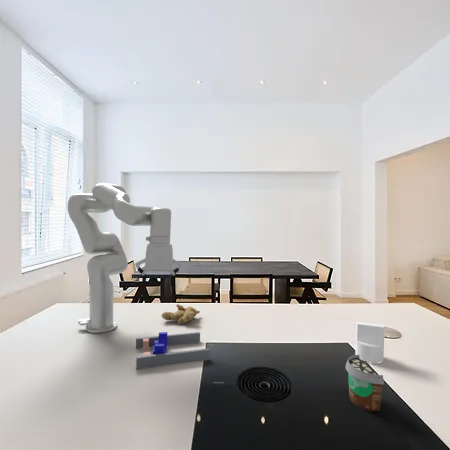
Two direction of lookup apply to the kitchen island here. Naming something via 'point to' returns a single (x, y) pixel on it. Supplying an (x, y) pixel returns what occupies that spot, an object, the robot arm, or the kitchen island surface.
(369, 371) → the food container
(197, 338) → the guide channel
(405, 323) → the kitchen island surface
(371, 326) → the cylinder with rectangular tab
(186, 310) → the ginger root
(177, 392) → the kitchen island surface
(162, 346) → the cable clip
